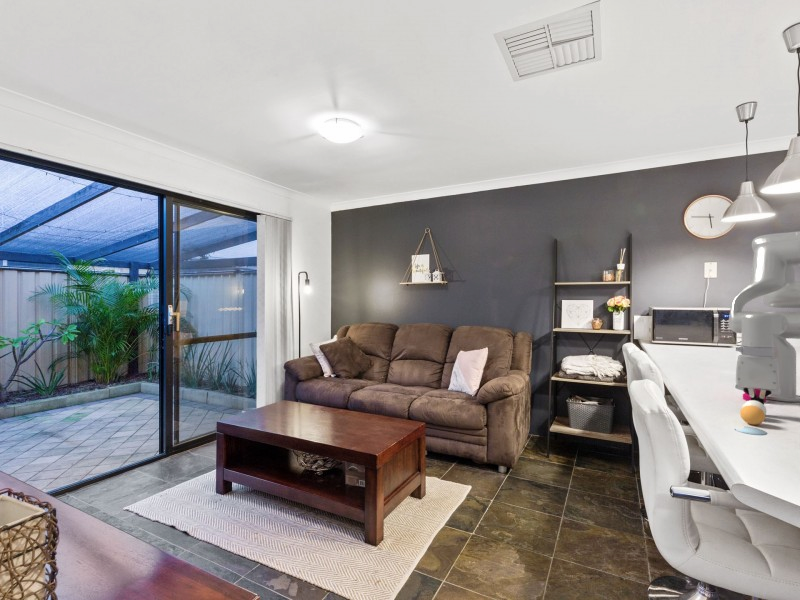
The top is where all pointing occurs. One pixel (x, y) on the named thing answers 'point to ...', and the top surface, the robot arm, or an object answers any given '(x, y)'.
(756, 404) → the cue ball
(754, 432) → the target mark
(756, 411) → the object ball
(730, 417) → the top surface
